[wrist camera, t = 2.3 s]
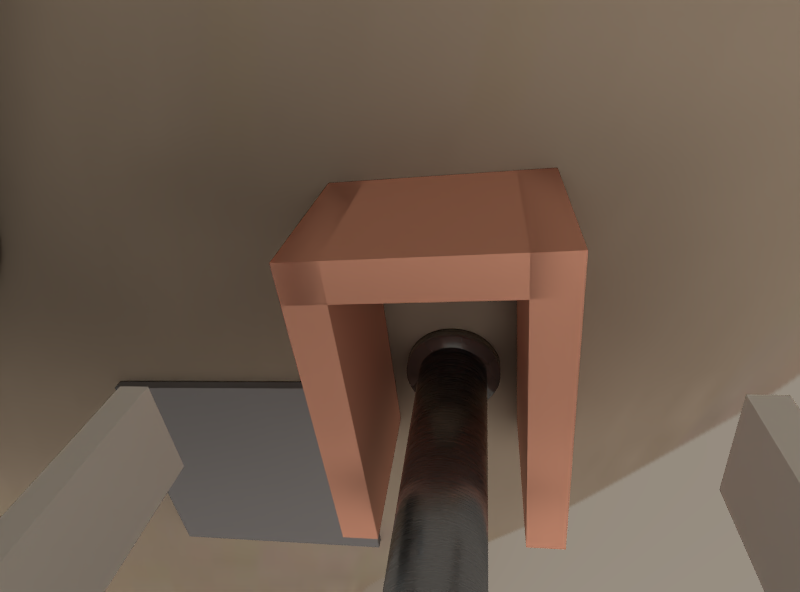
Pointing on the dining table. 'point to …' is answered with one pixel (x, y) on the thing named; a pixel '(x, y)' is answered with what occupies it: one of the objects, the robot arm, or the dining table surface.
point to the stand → (445, 468)
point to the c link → (435, 282)
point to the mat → (248, 462)
